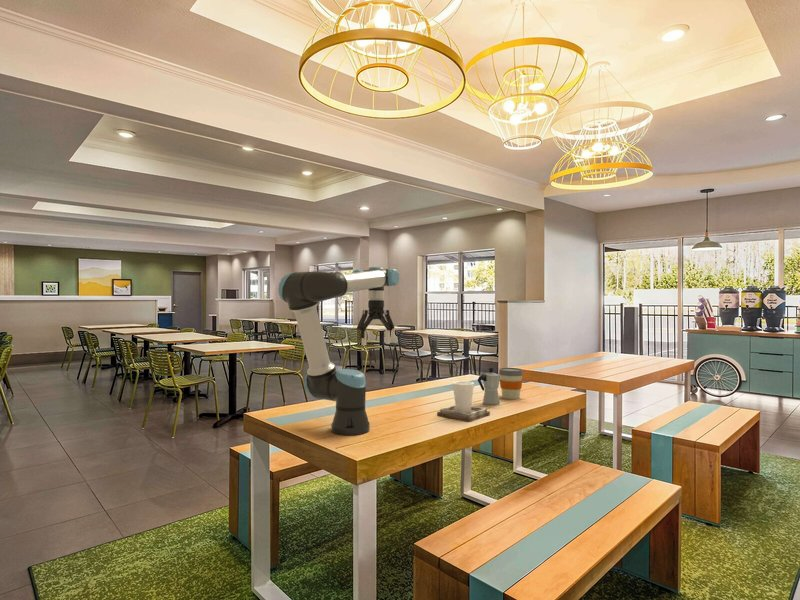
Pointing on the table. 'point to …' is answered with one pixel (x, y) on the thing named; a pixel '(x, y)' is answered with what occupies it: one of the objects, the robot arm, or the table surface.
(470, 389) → the foam cup
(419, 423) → the table surface
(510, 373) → the reusable coffee cup
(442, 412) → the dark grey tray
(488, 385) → the coffee maker
